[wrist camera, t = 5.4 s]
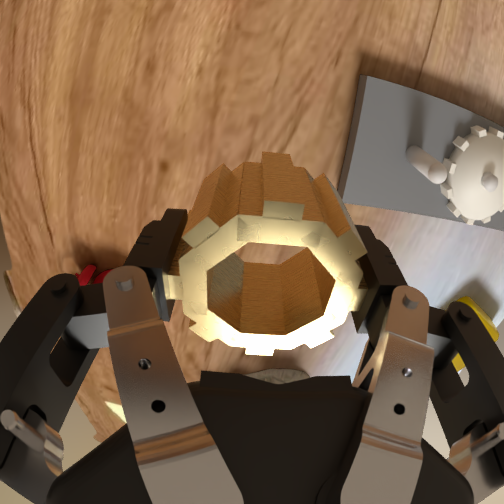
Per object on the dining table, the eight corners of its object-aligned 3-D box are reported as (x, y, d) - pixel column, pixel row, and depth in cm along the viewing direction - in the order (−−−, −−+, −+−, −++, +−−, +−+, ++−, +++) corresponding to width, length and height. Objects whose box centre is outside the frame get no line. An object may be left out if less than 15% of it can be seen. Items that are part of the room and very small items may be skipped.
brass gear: (189, 147, 11) (157, 193, 7) (358, 164, 11) (398, 216, 8) (192, 278, 14) (176, 347, 11) (324, 288, 14) (338, 356, 11)
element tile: (395, 348, 45) (402, 372, 41) (464, 290, 37) (477, 313, 33) (434, 366, 49) (441, 386, 45) (492, 320, 42) (503, 339, 38)
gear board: (360, 74, 22) (393, 81, 16) (527, 140, 23) (566, 165, 17) (336, 193, 29) (356, 233, 23) (498, 223, 30) (529, 257, 24)
